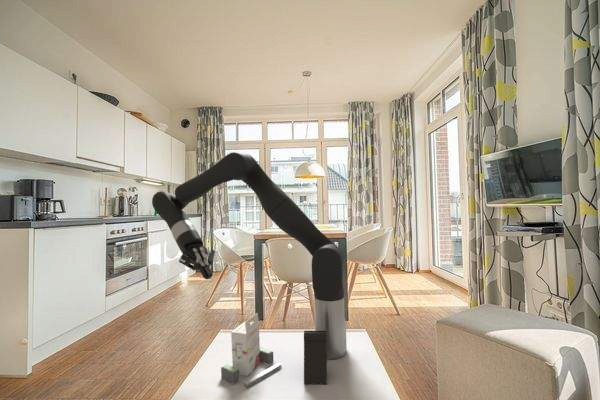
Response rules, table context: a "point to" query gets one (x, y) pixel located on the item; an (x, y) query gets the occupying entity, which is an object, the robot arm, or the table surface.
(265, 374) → the rail
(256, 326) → the ink cartridge box
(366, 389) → the table surface
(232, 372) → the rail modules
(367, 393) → the table surface
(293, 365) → the table surface
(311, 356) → the phone stand
